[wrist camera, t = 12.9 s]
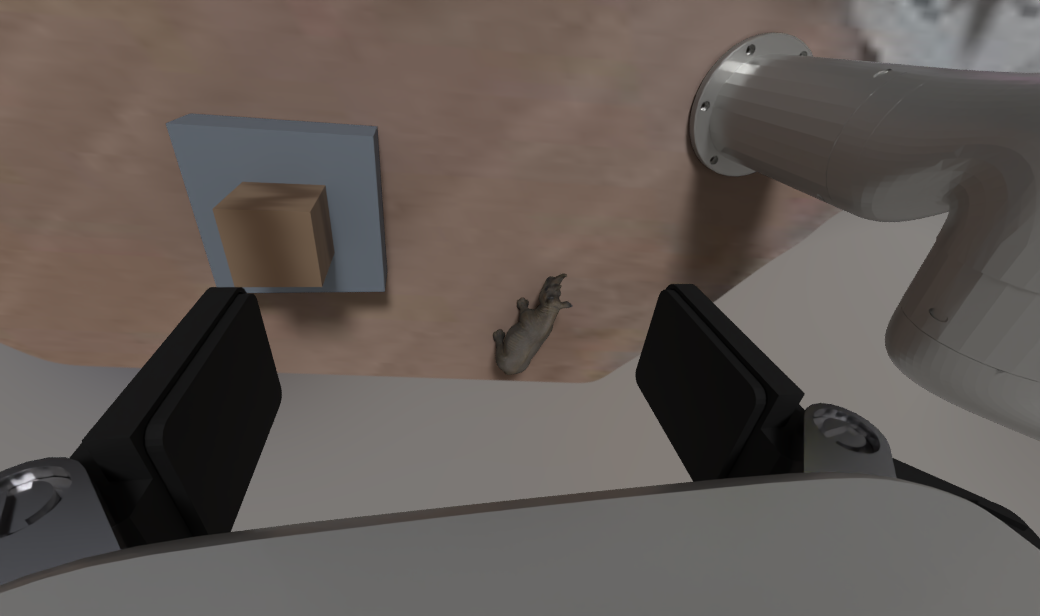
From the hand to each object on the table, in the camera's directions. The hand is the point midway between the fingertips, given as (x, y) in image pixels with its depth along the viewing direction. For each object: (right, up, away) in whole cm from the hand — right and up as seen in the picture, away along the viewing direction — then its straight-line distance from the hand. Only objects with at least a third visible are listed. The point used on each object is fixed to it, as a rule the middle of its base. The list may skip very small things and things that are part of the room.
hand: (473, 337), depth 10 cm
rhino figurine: (+2, +1, +40) cm, 40 cm away
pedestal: (-19, +10, +29) cm, 36 cm away
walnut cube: (-18, +8, +26) cm, 32 cm away
